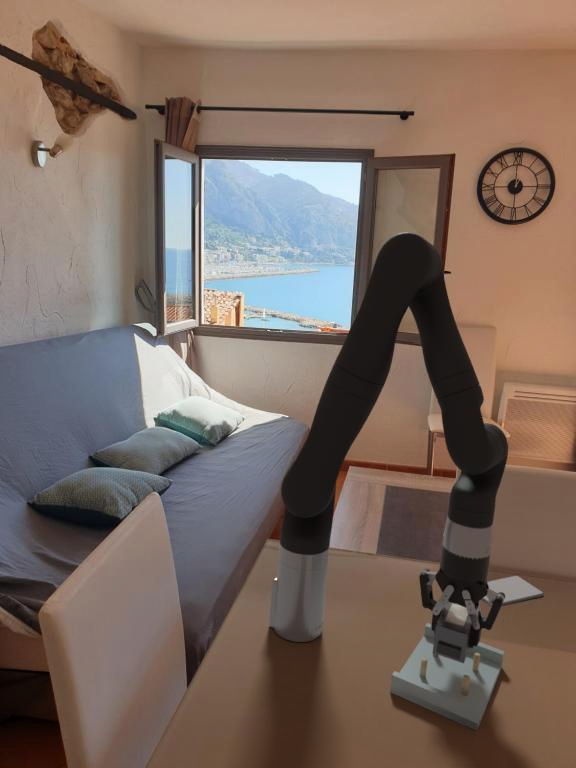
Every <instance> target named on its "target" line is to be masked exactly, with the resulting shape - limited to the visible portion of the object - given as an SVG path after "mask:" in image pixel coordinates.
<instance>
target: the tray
mask: <svg viewBox="0 0 576 768" xmlns="http://www.w3.org/2000/svg"><path fill="white" fill-rule="evenodd" d="M431 625H432V623H429V622H427V623H426V624H425V625H424V633H423V636H422V638H421V639H420V641H419V642H418V643H417V645H416V647H415V648H414V650H413V652H411V655H410V656H409V657H408V659H407V660H406V662H405V664H404V666H402V668H401V670H400V671H399V672H398V671H396V670H395V671H394V670H393V673H392V674H391V681H390V688H389V689H390V690H389V693H391V694H393V695H396V696H397V697H400V698H402V699H404V700H407V701H409V702H411V703H412V704H413V703H414V704H416V705H418V706H419V707H422V708H425V709H427V710H429V711H431V712H434V713H436V714H438V715H440V716H442V717H444V718H447V719H448V720H452V721H454V722H455V723H458V724H461V725H463V726H465V727H467V728H470V729H472V730H474V731H478V730H479V726H480V724H481V722H482V719H483V716H484V714H485V711H486V709H487V706H488V704H489V702H490V698H492V694H493V691H494V689H495V686H496V683H497V681H498V678H499V676H500V674H501V671H502V669H503V663H504V658H505V650H502V649H499V648H496V647H493V646H491V645H488V644H486V643H483V642H481V641H479V643H478V645H477V646H474V647H473V649H472V648H469V650H468V653H467V656H466V659H465V662H464V663H461V662H458V661H455V660H452V659H449V658H446V657H443V656H440V655H437V654H435V653H433V645H434V637H435V635H434V631H432V628H431Z"/></svg>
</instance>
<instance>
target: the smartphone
mask: <svg viewBox="0 0 576 768" xmlns="http://www.w3.org/2000/svg"><path fill="white" fill-rule="evenodd" d="M487 584H488V586H489V589H491V590H492V591H494V592H496V593H499V592H503V593H504V594H505V599H504V601H503V604H502V606H505V605H509V604H510V605H511V604H515V603H518V602H522V601H523V602H524V601H527V600H531V599H536V598H540V597H541V598H542V597H543V596H544V592H543V591H542V590H540V589H539V588H537V587H536V586H534V585H532V584H531V583H529V582H528V581H527V580H525V579H523V578H522V577H520V576H518V575H512V576H507V577H503V578H497V579H493V580H489V581H488V580H487ZM481 600H482V601H484V602H485V603H486V604H487V605H489V603H488V601H489V599H488V597H487V596H485V597H483V598H482V599H481Z"/></svg>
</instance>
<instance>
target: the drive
mask: <svg viewBox="0 0 576 768" xmlns="http://www.w3.org/2000/svg"><path fill="white" fill-rule="evenodd" d="M471 627H472V623H471V619H470V616H469V615H468V612H467V608H466V607H463V606H461V605H459V604H457V603H451V602H448V601H447V602H446V604H445V605H444V607H443V610H442V613H441V615H440V617H439V620H438V622H437V624H436V629H435V637H434V645H433V653H435V654H437V655H440V656H443V657H446V658H449V659H452V660H455V661H458V662H461V663H464V662H465V659H466V656H467V653H468V650H469V640H470V633H471Z"/></svg>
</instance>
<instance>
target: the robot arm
mask: <svg viewBox="0 0 576 768" xmlns="http://www.w3.org/2000/svg"><path fill="white" fill-rule="evenodd" d="M408 308H409V309H410V312H411V314H412V316H413V318H414V322H415V324H416V327H417V330H418V334H419V339H420V344H421V350H422V355H423V360H424V365H425V369H426V373H427V376H428V379H429V382H430V384H431V386H432V390H433V392H434V395H435V398H436V400H437V404H438V406H439V408H440V411H441V412H440V413H441V423H442V428H443V429H442V430H443V435H444V441H445V442H444V443H445V446H446V450H447V452H448V455H449V457H450V459H451V461H452V463H454V465H455V466H456V467H457V469H459V470H460V473H459V474H460V475H459V477H458V479H457V480H456V482H454V483H453V485H452V487H451V489H450V494H449V502H448V510H447V517H446V522H445V525H444V530H443V534H442V547H441V554H440V562H439V569H438V571H430V569H428V568H424V570H422V571H421V573H420V575H419V577H418V579H419V586H420V596H421V605H422V607H423V608H424V609H427V610H430V611H431V612H432V617H431V624H432V625H431V628H432V631H434V635H435V629H436V624H437V622H438V620H439V617H440V615H441V613H442V611H443V608H444V606H445V604H446V602H447V601H448V602H451V603H457V604H459V605H461V606H463V607H466V608H467V612H468V615H469V616H470V619H471V623H472V627H471V633H470V640H469V648H472V649H473V647H474V646H477V645H478V643H479V642H481V636H482V629H485V630H487V631H490V630H492V628H493V626H494V624H495V622H496V620H497V617H498V615H499V613H500V610H501V608H502V606H503V605H502V604H503V601H504V599H505V594H504V593H503V592H499V593H496V592H494V591H492V590H491V589H489V586H488V584H487V582H488V572H489V568H490V567H489V566H490V560H491V552H492V544H493V535H494V533H493V526H494V525H493V524H494V516H495V510H496V501H497V500H496V498H497V494H498V491H499V488H500V485H501V482H502V479H503V476H504V472H505V470H506V466H507V462H508V461H507V460H508V456H509V443H508V439H507V436H506V434H505V432H504V431H503V430H502V429H501V428H500V427H498V426H497V425H495V424H493V423H489V422H488V423H487V422H484V419H483V414H482V410H481V408H482V405H483V404H484V401H485V399H484V398H485V397H484V392H483V389H482V386H481V385H480V381H479V379H478V375H477V374H476V370H475V368H474V366H473V363H472V360H471V358H470V355H469V353H468V351H467V348H466V345H465V344H464V341H463V337H462V336H461V334H460V331H459V328H458V325H457V322H456V319H455V316H454V313H453V311H452V307H451V303H450V298H449V294H448V290H447V285H446V279H445V275H444V270H443V264H442V258H441V255H440V252H439V251H438V250H437V248H436V247H435V246H434V244H432V243H431V242H430V241H428V240H427V239H425V238H424V237H422V236H421V235H419V234H417V233H414V232H408V231H405V232H400V233H399V232H398V233H396V234H394V235H393V236H391V237H389V239H388V240H386V241H385V242H384V243H383V245H382V247H381V248H380V249H379V251H378V254H377V256H376V258H375V261H374V264H373V268H372V271H371V274H370V278H369V280H368V284H367V286H366V289H365V293H364V296H363V299H362V301H361V304H360V307H359V310H358V311H357V314H356V316H355V317H354V320H353V322H352V323H351V326H350V328H349V330H348V333H347V334H346V337H345V339H344V342H343V345H342V346H341V347H340V348H341V349H340V350H339V352H338V354H337V356H336V358H335V361H334V363H333V365H332V368H331V369H330V372H329V375H328V377H327V380H326V382H325V385H324V386H323V389H322V392H321V395H320V397H319V400H318V404H317V406H316V410H315V413H314V417H313V419H312V422H311V427H310V429H309V432H308V435H307V438H306V439H305V442H304V444H303V446H302V448H301V449H300V451H299V453H298V455H297V456H296V458H295V460H294V461H293V462H292V463H291V464H290V466H289V468H288V469H287V472H286V473H285V474H284V477H283V478H282V482H281V486H280V495H281V499H282V503H283V504H284V510H283V516H282V517H283V518H282V522H281V526H280V532H279V533H280V534H279V546H278V547H279V548H278V557H277V558H278V559H277V561H278V562H277V575H276V577H274V578H273V579H272V582H271V595H270V596H271V597H270V608H269V609H270V612H269V623H268V625H269V627H270V628H272V629H273V630H274V631H275V633H276V634H277V635H278V636H279V637H281V638H283V639H284V640H287V641H291V642H296V643H306V642H307V643H308V642H311V641H314V640H315V639H318V637H320V636H321V634H322V632H323V624H324V614H325V613H324V611H325V602H326V589H327V577H328V566H329V556H330V545H331V536H332V529H333V523H334V522H333V521H334V512H335V503H336V492H337V481H338V477H339V475H340V472H341V469H342V467H343V464H344V462H345V459H346V456H347V454H348V452H349V451H350V448H351V447H352V445H353V444H354V442H355V440H357V437H358V436H359V434H360V432H361V431H362V429H363V427H364V425H365V424H366V422H367V420H368V418H369V416H370V415H371V413H372V411H373V409H374V408H375V405H376V403H377V401H378V399H379V397H380V396H381V393H382V391H383V389H384V386H385V384H386V382H387V379H388V377H389V374H390V372H391V367H392V364H393V363H392V362H393V358H394V352H395V347H396V346H395V345H396V340H397V336H398V332H399V328H400V325H401V323H402V321H403V319H404V317H405V315H406V312H407V310H408ZM435 581H436V583H437V586H439V588H440V591H441V593H442V594H441V596H440V597H439V599H438V600H437V601H436V600H435V599H434V592H433V590H434V589H433V584H434V583H435ZM485 596H487V597H488V599H489V601H488V603H489V604H488V605H489V606H491V608H490V610H489V612H488V615H487V616H483V614H482V609H481V608H482V605H481V602H480V601H481V600H482V598H483V597H485Z"/></svg>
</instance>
